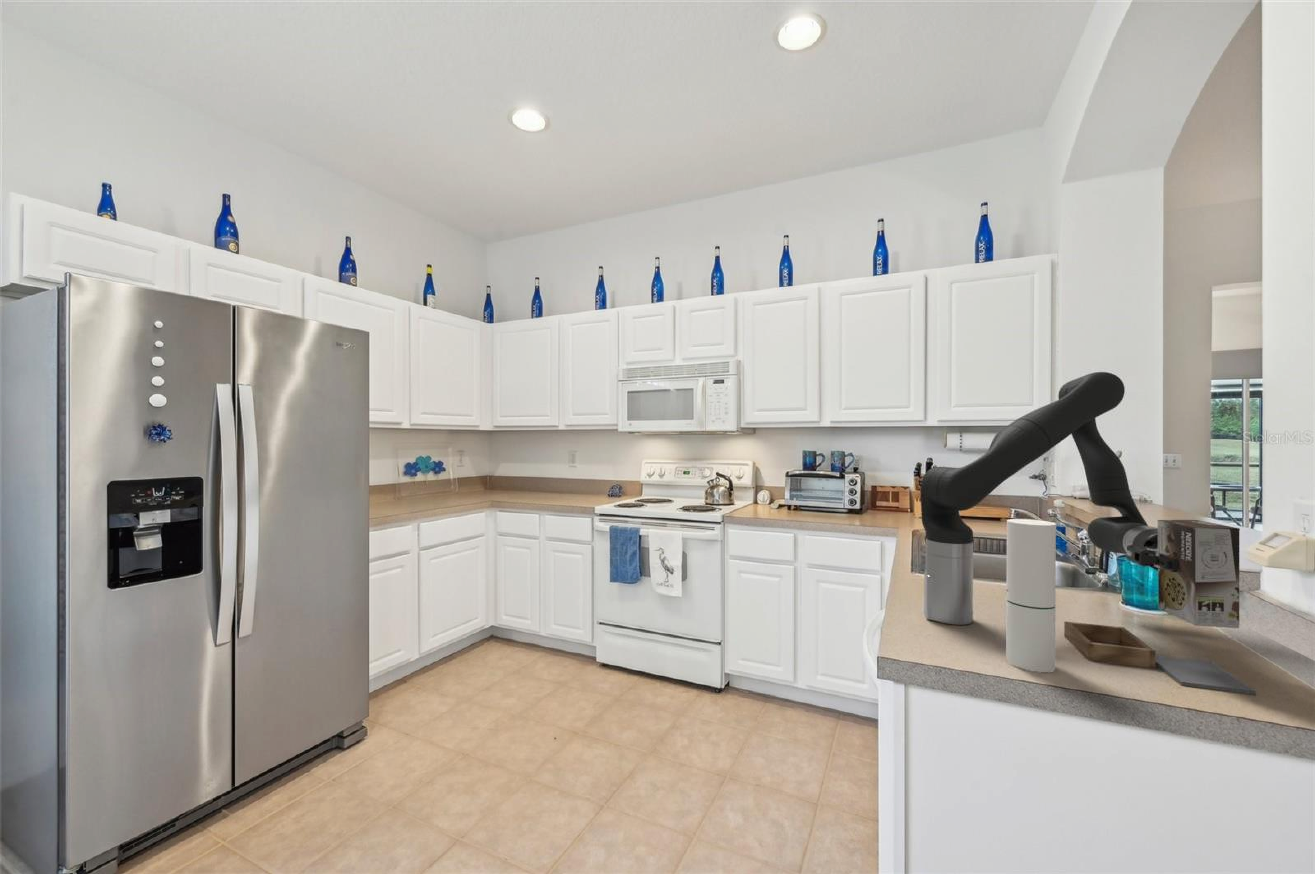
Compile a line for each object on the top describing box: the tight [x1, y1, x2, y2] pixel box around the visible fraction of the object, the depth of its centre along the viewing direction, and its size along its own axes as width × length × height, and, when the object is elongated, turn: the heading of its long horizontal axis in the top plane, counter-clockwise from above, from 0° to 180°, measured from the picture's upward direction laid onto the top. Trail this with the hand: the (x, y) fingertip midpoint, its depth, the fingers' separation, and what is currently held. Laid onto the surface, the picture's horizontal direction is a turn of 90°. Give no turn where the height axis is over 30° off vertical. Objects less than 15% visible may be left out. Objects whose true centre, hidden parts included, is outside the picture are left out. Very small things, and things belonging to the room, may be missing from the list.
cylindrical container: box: [1005, 518, 1057, 673], centre depth 97 cm, size 7×7×25 cm
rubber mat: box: [1155, 654, 1256, 696], centre depth 92 cm, size 9×12×1 cm
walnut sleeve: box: [1063, 620, 1157, 669], centre depth 102 cm, size 10×13×3 cm
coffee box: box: [1157, 519, 1241, 629], centre depth 92 cm, size 9×6×16 cm
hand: (1204, 567), depth 90 cm, fingers closed on coffee box, 7 cm apart
